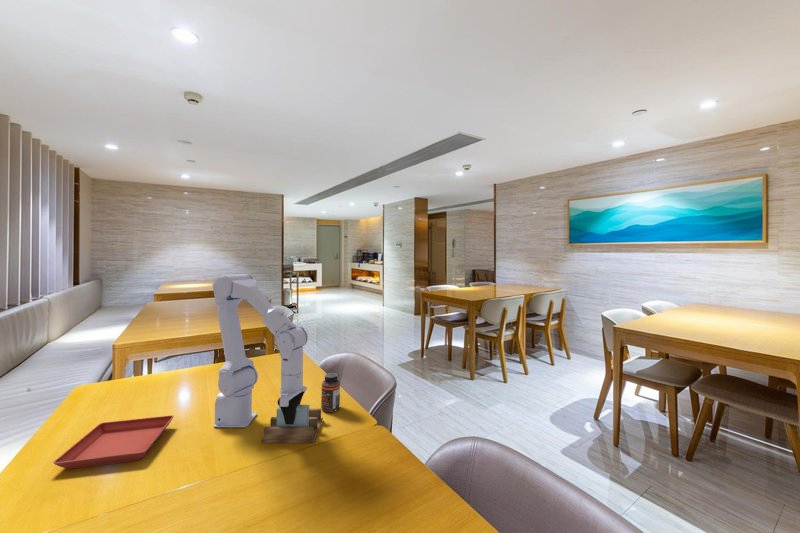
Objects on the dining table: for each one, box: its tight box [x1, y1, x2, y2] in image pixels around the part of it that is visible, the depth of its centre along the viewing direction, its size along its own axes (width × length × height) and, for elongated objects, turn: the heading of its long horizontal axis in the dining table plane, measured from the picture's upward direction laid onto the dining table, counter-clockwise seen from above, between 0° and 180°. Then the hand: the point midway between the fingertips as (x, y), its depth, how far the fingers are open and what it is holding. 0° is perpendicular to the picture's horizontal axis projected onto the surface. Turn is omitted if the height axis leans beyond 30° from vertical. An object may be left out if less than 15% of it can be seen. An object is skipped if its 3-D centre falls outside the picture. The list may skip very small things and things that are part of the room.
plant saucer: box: [52, 414, 174, 470], centre depth 85 cm, size 18×18×3 cm
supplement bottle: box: [320, 372, 341, 413], centre depth 108 cm, size 6×6×11 cm
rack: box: [260, 408, 324, 444], centre depth 94 cm, size 14×12×4 cm
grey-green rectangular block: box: [276, 404, 310, 427], centre depth 91 cm, size 8×3×7 cm, turn 92°
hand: (291, 420), depth 91 cm, fingers closed on grey-green rectangular block, 3 cm apart
